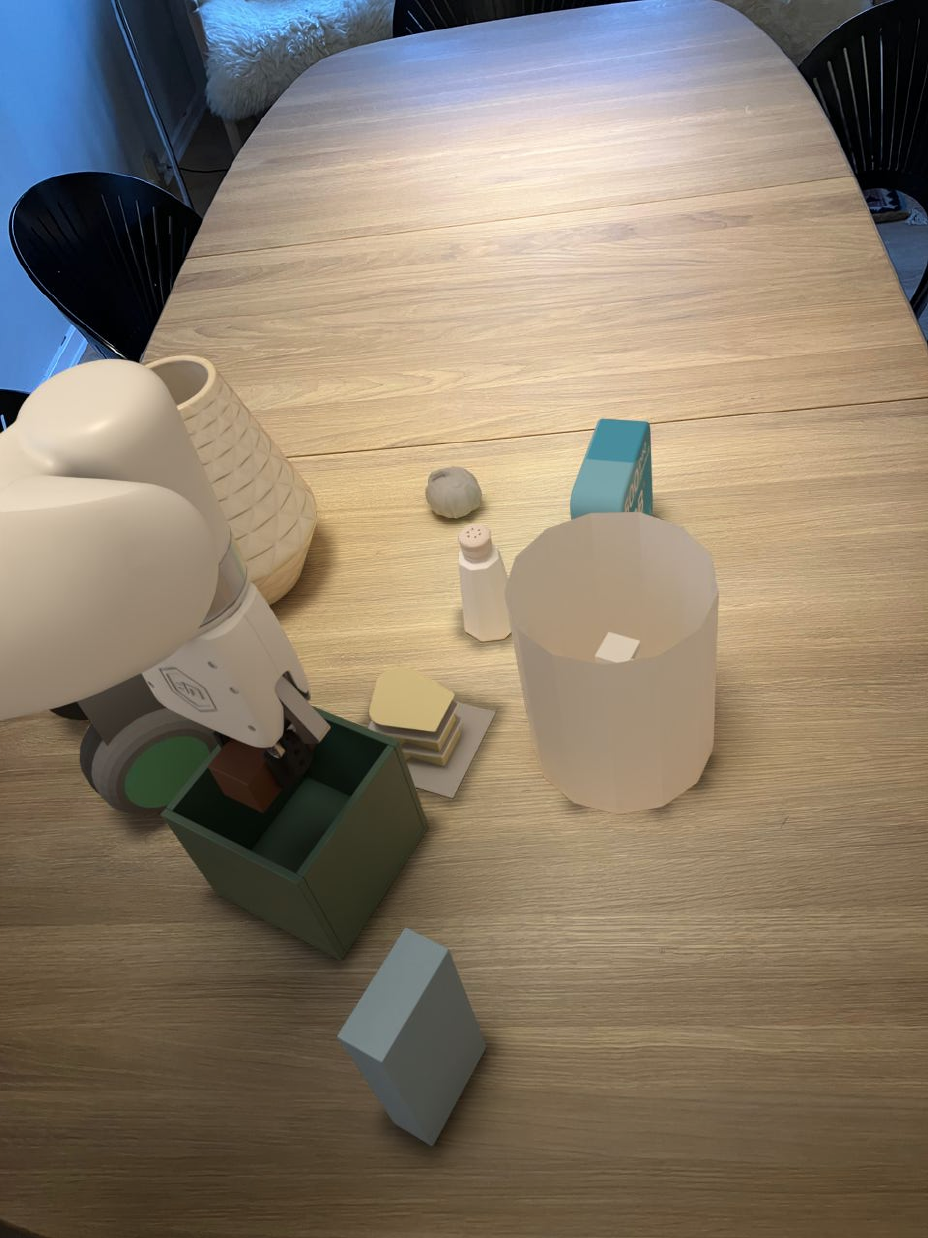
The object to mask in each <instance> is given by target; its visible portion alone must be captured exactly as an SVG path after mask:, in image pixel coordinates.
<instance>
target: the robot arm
mask: <svg viewBox="0 0 928 1238" xmlns="http://www.w3.org/2000/svg"><path fill="white" fill-rule="evenodd" d="M140 673H142V675H143V677H144V679H145V680H146V682H147V684H148V686H149V687H150V689H151V691H152V693H153V694H154V696H155V697H156V699H157V700H158V701H159V702H160V703H161V704H163V705H164V706H165V707H167V708H168V709H170V710H172V711H174V712H176V713H178V714H180V715H182V716H184V717H186V718H189V719H191V720H193V721H195V722H197V723H200V724H202V725H204V726H206V727H208V728H210V729H212V730H215V732H214V733H213V735H214V737H215V739H216V740H217V742H218V744H219V746H220V747H221V749H222V748H223V747H224V745H225V744H226V743H227V742H228V741H229V739H230V738H234V739H236V740H238V741H241V742H243V743H246V744H248V745H251V746H254V747H260V748H265V749H266V751H265V752H264V755H263V757H264V759H265V761H266V763H267V765H268V767H269V769H270V771H271V772H272V774H273V776H274V778H275V780H276V782H277V784H278V786H279V787H280V788H281V789H284V790H286V791H288V790H289V789H290V788H291V787H292V785H293V784H294V783H295V781H296V780H297V779H298V777H301V776H302V775H303V774H304V773H305V772H306V770H307V769H308V767H309V765H310V762H311V760H312V758H313V752H312V750H311V748H310V746H309V744H319V743H320V741H321V740H322V739H323V737H324V736H325V735H326V734H327V732H328V731H329V730H330V725H329V724H328V723H327V722H326V721H325V720H324V719H323V718H322V716H321V715H320V714H319V713H318V712H317V711H316V710H315V709H314V708H313V707H312V706H313V705H311V703H309V701H310V700H311V698H312V692H311V686H310V683H309V680H308V677H307V674H306V672H305V669H304V667H303V664H302V662H301V660H300V658H299V655H298V654H297V652H296V650H295V648H294V646H293V644H292V642H291V640H290V639H289V637H288V635H287V633H286V631H285V629H284V628H283V626H282V624H281V622H280V621H279V620H278V618H277V616H276V615H275V613H274V611H273V610H272V609H271V607H270V606H269V605H268V603H267V602H266V600H265V599H264V598H263V596H262V595H261V593H260V592H259V590H258V589H257V587H256V586H255V585H254V584H253V583H251V582H250V574H249V569H248V567H247V564H246V562H245V560H244V557H243V555H242V553H241V551H240V548H239V546H238V544H237V542H236V539H235V537H234V535H233V532H232V530H231V528H230V526H229V524H228V522H227V520H226V518H225V515H224V513H223V511H222V508H221V506H220V504H219V501H218V499H217V497H216V495H215V492H214V490H213V488H212V485H211V483H210V481H209V478H208V476H207V474H206V472H205V469H204V467H203V465H202V463H201V460H200V458H199V456H198V453H197V451H196V449H195V447H194V444H193V442H192V440H191V438H190V435H189V433H188V431H187V429H186V426H185V424H184V422H183V420H182V417H181V415H180V413H179V411H178V408H177V406H176V404H175V402H174V400H173V398H172V396H171V394H170V392H169V390H168V388H167V386H166V385H165V383H164V382H163V381H162V380H161V379H160V377H159V376H158V375H157V374H156V373H154V372H153V371H152V370H150V369H149V368H147V367H145V365H144V364H142V363H139V362H136V361H133V360H129V359H128V360H127V359H120V358H105V359H97V360H91V361H86V362H82V363H79V364H76V365H73V366H71V367H69V368H66V369H63V370H62V371H60V372H58V373H56V374H54V375H52V376H51V377H49V378H48V379H47V380H45V381H43V382H42V383H41V384H39V385H38V386H37V387H36V388H35V389H34V390H33V391H32V392H31V393H30V394H29V396H28V397H27V398H26V400H25V401H24V402H23V404H22V405H21V407H20V409H19V411H18V414H17V416H16V419H15V421H14V422H13V423H12V424H10V425H9V426H8V427H7V428H6V429H4V430H2V431H1V432H0V721H5V720H10V719H16V718H20V717H25V716H29V715H34V714H38V713H41V712H45V711H50V710H49V709H53V708H57V707H61V706H64V705H67V704H70V703H73V702H76V701H79V700H82V699H85V698H87V697H90V696H93V695H95V694H98V693H100V692H102V691H104V690H106V689H109V688H111V687H113V686H115V685H117V684H120V683H122V682H124V681H126V680H128V679H130V678H132V677H134V676H136V675H138V674H140ZM284 721H285V722H284Z"/></svg>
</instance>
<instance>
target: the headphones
mask: <svg viewBox="0 0 928 1238" xmlns="http://www.w3.org/2000/svg"><path fill="white" fill-rule="evenodd" d="M48 711H50V712H51V713H53V714H55V715H56V716H58V717H61V718H64V719H67V720H70V721H77V722H78V721H79V722H85V721H89V722H90V723H89V725H88V727H87V729H86V730H85V733H84V734H83V737H82V740H81V743H80V747H79V764H80V769H81V772H82V773H83V775H84V777H85V779H86V781H87V782H88V784H89V786H90V787H91V789H93V790H94V791H95V792H96V793H97V794H98V795H100V798H102V799H103V801H104V802H106V803H107V804H108V805H109V806H110V807H111V808H112V809H114V810H116V811H118V812H120V813H124V814H127V815H131V816H144V817H145V816H152V815H158V814H161V813H162V812H163V811H164V810H165V808H166V807H167V806H168V805H169V803H170V802H171V801H172V800H173V799H174V797H175V796H176V795H177V794H178V793H179V791H180V790H181V789H182V788H183V786H184V785H185V784H186V783H187V782H188V780H189V779H190V778H191V777H192V776H193V774H194V773H195V772H196V771H197V770H198V768H199V767H200V766H201V765H202V764H203V762H204V761H205V760H206V759H207V758H208V756H209V755H210V754H211V753H212V752H213V750H214V749H215V748H216V747H217V746H218V742H217V740H216V739H215V737H214V735H213V733H214V732H215V730H212V729H210V728H208V727H206V726H204V725H202V724H200V723H197V722H195V721H193V720H191V719H189V718H186V717H184V716H182V715H180V714H178V713H176V712H174V711H172V710H170V709H168V708H167V707H165V706H164V705H163V704H161V703H160V702H159V701H158V700H157V699H156V697H155V696H154V694H153V693H152V691H151V689H150V687H149V686H148V684H147V682H146V680H145V679H144V677H143V675H142V673H140V674H138V675H136V676H134V677H132V678H130V679H128V680H126V681H124V682H122V683H120V684H117V685H115V686H113V687H111V688H109V689H106V690H104V691H102V692H100V693H98V694H95V695H93V696H90V697H87V698H85V699H82V700H79V701H76V702H73V703H70V704H67V705H64V706H61V707H57V708H53V709H49V710H48Z"/></svg>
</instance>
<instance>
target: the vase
mask: <svg viewBox="0 0 928 1238" xmlns="http://www.w3.org/2000/svg"><path fill="white" fill-rule="evenodd" d="M144 366H145V367H147V368H149V369H150V370H152V371H153V372H154V373H156V374H157V375H158V376H159V377H160V379H161V380H162V381H163V382H164V383H165V385H166V386H167V388H168V390H169V392H170V394H171V396H172V398H173V400H174V402H175V404H176V406H177V408H178V411H179V413H180V415H181V417H182V420H183V422H184V424H185V426H186V429H187V431H188V433H189V435H190V438H191V440H192V442H193V444H194V447H195V449H196V451H197V453H198V456H199V458H200V460H201V463H202V465H203V467H204V469H205V472H206V474H207V476H208V478H209V481H210V483H211V485H212V488H213V490H214V492H215V495H216V497H217V499H218V501H219V504H220V506H221V508H222V511H223V513H224V515H225V518H226V520H227V522H228V524H229V526H230V528H231V530H232V532H233V535H234V537H235V539H236V542H237V544H238V546H239V548H240V551H241V553H242V555H243V557H244V560H245V562H246V564H247V567H248V569H249V574H250V582H251V583H253V584H254V585H255V586H256V587H257V589H258V590H259V592H260V593H261V595H262V596H263V598H264V599H265V600H266V602H267V603H268V605H269V607H270V606H271V605H273V604H275V603H276V602H279V601H280V600H281V599H283V598H284V597H285V596H286V595H287V594H288V593H289V592H290V591H291V590H293V588H294V586H295V585H296V584H297V582H298V580H299V578H300V577H301V574H302V571H303V568H304V564H305V561H306V558H307V554H308V552H309V549H310V545H311V542H312V538H313V535H314V532H315V529H316V525H317V520H318V504H317V500H316V497H315V494H314V492H313V490H312V488H311V487H310V485H309V484H308V483H307V482H306V480H305V479H304V478H303V476H301V474H300V473H299V471H298V470H297V468H296V467H295V466H294V465H293V464H292V463H291V462H290V460H289V459H288V457H287V456H286V455H285V453H283V452H282V449H280V447H279V446H278V445H277V444H276V442H275V441H274V440H273V438H272V437H271V436H270V435H269V434H268V432H267V431H266V429H264V427H263V426H262V424H261V423H260V422H259V420H257V418H256V417H255V415H253V412H251V410H250V409H249V408H248V407H247V405H245V403H244V402H243V400H242V399H241V398H240V397H239V395H238V394H237V393H236V392H235V390H234V389H233V388H232V387H231V385H230V384H229V382H228V381H227V380H226V379H225V378H224V376H223V375H222V374H221V372H220V371H219V370H218V369H217V368H216V366H215V365H214V363H213V362H211V361H210V360H209V359H207V358H205V357H203V356H199V355H193V354H178V355H172V356H166V357H162V358H159V359H156V360H154V361H151V362H149V363H147V364H144Z"/></svg>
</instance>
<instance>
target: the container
mask: <svg viewBox="0 0 928 1238" xmlns="http://www.w3.org/2000/svg"><path fill="white" fill-rule="evenodd" d="M508 578H509V579H508V582H507V585H506V588H505V591H504V595H505V600H506V605H507V611H508V616H509V621H510V627H511V637H512V643H513V648H514V653H515V659H516V666H517V670H518V674H519V681H520V686H521V691H522V697H523V702H524V707H525V713H526V717H527V718H526V719H527V723H528V729H529V734H530V740H531V744H532V746H533V750H534V752H535V757H536V759H537V761H538V762H537V763H538V765H539V769H540V771H541V774H542V775H541V776H542V777H543V778H544V779H545V780H546V781H547V782H548V783H549V784H551V785H552V786H553V787H554V788H556V789H557V790H558V791H559V792H560V793H561V794H562V795H564V796H565V797H566V798H567V799H568V800H570V801H571V802H572V803H573V804H574V805H579V806H583V807H586V808H591V809H595V810H598V811H602V812H606V813H611V814H614V815H621V814H623V815H624V814H628V813H634V812H641V811H645V810H646V811H647V810H652V809H659V808H663V807H665V806H667V805H668V804H669V803H670V802H672V801H673V800H675V799H677V798H678V797H679V796H681V795H682V794H683V793H685V792H686V791H688V790H689V789H690V788H692V787H693V786H695V785H697V783H698V782H699V780H700V778H701V775H702V774H703V771H704V770H705V767H706V765H707V763H708V761H709V758H710V756H711V754H712V752H713V750H714V746H715V745H714V743H715V742H714V741H715V740H714V739H715V714H716V713H715V710H716V688H717V687H716V685H717V657H718V630H719V629H718V628H719V606H720V605H719V604H720V603H719V602H720V590H719V584H718V580H717V575H716V569H715V563H714V559H713V554H711V552H709V551H708V550H707V549H706V548H705V547H704V546H703V545H702V544H701V543H700V541H698V540H697V539H696V538H695V537H694V536H693V535H692V534H691V533H690V532H689V531H688V530H686V528H685V527H683V526H682V525H679V524H676V523H673V522H670V521H667V520H664V519H661V518H658V517H656V516H653V515H652V516H650V515H647V514H644V513H641V512H611V513H589V514H586V515H584V516H581V517H578V518H575V519H572V520H571V519H570V520H567V521H564V522H561V523H558V524H556V525H553V526H551V527H548V528H545V529H544V531H543V532H542V533H540V534H539V535H538V536H537V537H536V538H535V539H534V540H533V541H531V542H530V543H529V544H528V545H527V546H526V547H525V548H523V550H521V551H520V552H519V553H518V554H517V555H516V556H515V557H514V560H513V564H512V566H511V570H510V573H509V575H508Z"/></svg>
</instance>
